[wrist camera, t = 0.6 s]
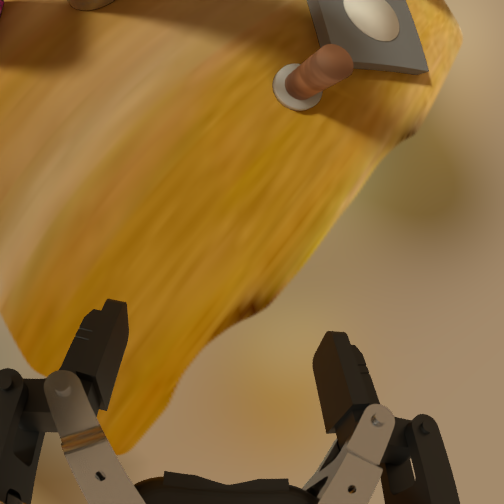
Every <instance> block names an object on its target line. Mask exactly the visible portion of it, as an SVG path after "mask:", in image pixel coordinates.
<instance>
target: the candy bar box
mask: <svg viewBox="0 0 504 504" xmlns="http://www.w3.org/2000/svg"><path fill="white" fill-rule="evenodd" d="M3 4H4V0H0V16H1V12H2V8H3Z"/></svg>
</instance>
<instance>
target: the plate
mask: <svg viewBox="0 0 504 504" xmlns="http://www.w3.org/2000/svg"><path fill="white" fill-rule="evenodd" d="M307 3H308V6H309V9H310V13H311V16H312V19H313V23H314V26H315V30H316V33H317V37H318V41H319V44H320V48H321V47H322V46H324V45H326V44H335V45H338V46H340V47H342V48H344V49H345V50H346V51H347V52H348V53H349V55H350V56H351V58H352V61H353V66H354V67H353V68H354V69H369V70H381V71H390V72H399V73H407V74H414V75H419V74H422V73H425V72H428V71H429V70H428V66H427V62H426V59H425V55H424V52H423V49H422V45H421V42H420V39H419V36H418V33H417V30H416V27H415V24H414V21H413V19H412V16H411V13H410V11H409V8H408V6H407V3H406V1H405V0H307Z"/></svg>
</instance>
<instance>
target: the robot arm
mask: <svg viewBox="0 0 504 504" xmlns="http://www.w3.org/2000/svg"><path fill="white" fill-rule="evenodd" d="M113 1H114V0H68V2H69V3H70V5H71V6H72V7H73V8H75V9H78V10H93V9H97V8H100V7H103V6H105V5H107V4H109V3H111V2H113ZM128 335H129V327H128V314H127V304H126V302H122V301H117V300H112V299H107V300H106V302H105V304H104V306H103V308H102V310H101V311H100V310H95V309H93V310H92V311H91V312H90V313H89V314H87V315H86V316H85V317H84V319H83V321H82V323H81V325H80V327H79V329H78V331H77V333H76V336H75V337H74V339H73V341H72V344H71V346H70V348H69V350H68V352H67V354H66V357H65V359H64V361H63V363H62V366H61V368H60V369H59V370H58V371H55V372H53V373H51V374H50V375H49V376H48V377H47V378H45V379H23V378H22V377H21V375H20V374H19V373H18V372H17V371H16V370H13V369H9V368H7V369H2V370H0V504H31V499H32V493H33V486H34V481H35V476H36V470H37V465H38V460H39V456H40V451H41V447H42V443H43V439H44V435H45V432H58V433H59V436H60V438H61V441H62V444H61V446H62V450H63V452H64V455H65V457H66V459H67V462H68V464H69V466H70V468H71V470H72V473H73V475H74V477H75V479H76V481H77V483H78V485H79V487H80V489H81V490H82V492H83V494H84V496H85V498H86V500H87V502H88V504H368V502H369V500H370V498H371V496H372V494H373V492H374V490H375V487H376V486H377V483H378V481H379V479H380V477H381V483H382V488H383V494H384V500H385V504H460V501H459V497H458V493H457V489H456V485H455V481H454V478H453V474H452V470H451V467H450V463H449V460H448V456H447V453H446V450H445V447H444V443H443V440H442V437H441V434H440V431H439V428H438V425H437V423H436V422H435V420H434V419H433V418H432V417H430V416H428V415H425V414H420V415H417V416H416V417H415V418H414V419H413V420H406V419H402V418H397V417H394V415H393V414H392V412H391V411H390V410H389V409H388V408H387V407H385V406H383V405H381V404H380V403H379V400H378V397H377V394H376V391H375V388H374V385H373V382H372V379H371V377H370V375H369V371H368V368H367V367H366V363H365V360H364V357H363V354H362V353H361V352H360V351H359V349H358V348H357V347H356V346H355V345H351V344H350V341H349V339H348V336H347V334H346V333H345V332H334V331H328V332H326V334H325V336H324V338H323V339H322V341H321V343H320V345H319V347H318V349H317V351H316V353H315V355H314V358H313V371H314V376H315V380H316V385H317V390H318V395H319V400H320V404H321V409H322V414H323V419H324V424H325V429H326V433H327V434H329V433H336V435H337V439H336V440H335V441H334V443H333V445H332V447H331V448H330V450H329V451H328V453H327V455H326V457H325V458H324V460H323V461H322V463H321V465H320V466H319V468H318V470H317V471H316V472H315V474H314V475H313V476H312V477H311V478H310V479H309V481H308V482H307V483H306V484H305V485H304V487H303V488H302V489H301V488H298V487H295V486H292V485H289V482H288V479H257V480H252V481H248V482H243V483H238V484H233V485H225V484H222V483H218V482H215V481H211V480H208V479H205V478H202V477H199V476H195V475H188V474H180V473H173V472H167V471H164V477H156V478H150V479H147V480H143V481H141V482H138V483H136V484H135V485H133V483H132V482H131V480H130V478H129V477H128V475H127V474H126V472H125V470H124V468H123V467H122V465H121V463H120V462H119V460H118V458H117V456H116V454H115V453H114V451H113V449H112V447H111V445H110V443H109V441H108V440H107V438H106V436H105V434H104V432H103V430H102V428H101V426H100V424H99V422H98V420H97V418H96V417H97V413H98V410H99V409H101V410H105V411H107V409H108V405H109V401H110V398H111V394H112V391H113V387H114V384H115V380H116V377H117V374H118V370H119V367H120V364H121V361H122V358H123V354H124V351H125V348H126V345H127V341H128ZM410 458H411V459H412V463H413V467H414V472H415V476H416V479H414V475H413V471H412V466H411V462H410Z"/></svg>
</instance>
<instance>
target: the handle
mask: <svg viewBox="0 0 504 504" xmlns="http://www.w3.org/2000/svg"><path fill="white" fill-rule="evenodd" d="M353 67H354V66H353V61H352V58H351V56H350V55H349V53H348V52H347V51H346V50H345V49H344V48H342V47H340V46H338V45H335V44H326V45H324V46H322V47H321V48H320V49H319V50H317V51H316V52H315V53H314V54H313V55H311V56H310V57H309V58H308V59H306V60H305V61H304V62H303V63H302V64H289V65H286V66H284V67H283V68H282V69H281V70H279V71H278V73H277V74H276V75H275V77H274V79H273V91H274V94H275V96H276V98H277V99H278V101H279V102H280V103H281V104H282V105H283V106H285V107H287V108H289V109H291V110H295V111H303V110H307V109H309V108H311V107H313V106H315V105H316V104H317V103H318V102H319V101H320V99H321V96H322V91H323V90H325V89H326V88H328V87H330V86H332V85H334V84H336V83H338V82H340V81H341V80H343V79H345V78H347V77H349V76H350V75H351V74H352V72H353Z"/></svg>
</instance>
